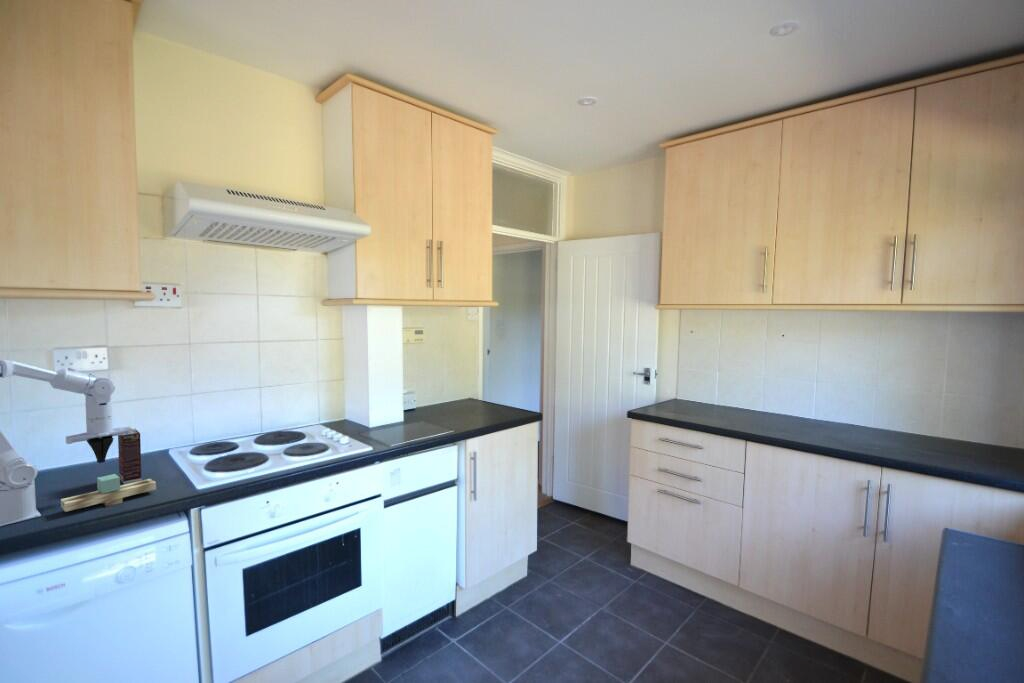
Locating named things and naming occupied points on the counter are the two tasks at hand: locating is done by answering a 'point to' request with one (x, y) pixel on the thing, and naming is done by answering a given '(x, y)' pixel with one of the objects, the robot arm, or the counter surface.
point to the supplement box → (129, 457)
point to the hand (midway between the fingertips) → (101, 462)
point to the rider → (108, 483)
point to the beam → (107, 495)
